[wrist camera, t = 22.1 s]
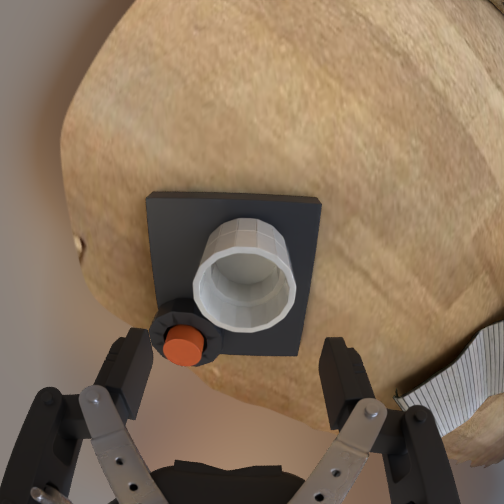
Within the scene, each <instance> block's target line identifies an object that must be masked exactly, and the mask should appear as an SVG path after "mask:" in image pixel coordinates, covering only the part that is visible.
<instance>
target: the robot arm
mask: <svg viewBox="0 0 504 504" xmlns="http://www.w3.org/2000/svg"><path fill="white" fill-rule="evenodd" d="M152 364H153V351H152V346H151V342H150V337H149V332H148V330H147V329H142V328H133V327H132V328H130V330H129V332H128V334H127V336H126V338H124V337H120V338H119V339H118V340H116V341H115V342H114V343H113V344H112V346H111V348H110V351H109V354H108V355H107V357H106V360H105V361H104V363H103V365H102V367H101V370H100V372H99V374H98V376H97V378H96V380H95V383H94V384H93V385H92V386H88V387H87V388H85V389H84V390H82V392H81V393H80V394H75V395H62V394H61V392H60V391H59V390H58V389H57V388H54V387H46V388H43V389H42V390H40V391H39V392H38V393H37V395H36V396H35V399H34V401H33V403H32V405H31V407H30V410H29V412H28V414H27V417H26V419H25V421H24V424H23V426H22V428H21V431H20V433H19V436H18V438H17V440H16V443H15V446H14V448H13V451H12V454H11V457H10V459H9V462H8V465H7V468H6V471H5V474H4V477H3V480H2V483H1V487H0V504H73V503H72V502H71V501H70V500H69V499H68V495H69V491H70V487H71V482H72V478H73V474H74V470H75V466H76V463H77V459H78V455H79V452H80V448H81V445H82V441H83V439H91V438H92V440H91V444H92V446H93V449H94V451H95V454H96V456H97V458H98V461H99V463H100V465H101V468H102V469H103V472H104V474H105V476H106V478H107V480H108V482H109V485H110V487H111V489H112V491H113V493H114V494H115V496H116V498H115V499H114V500H113V501H111V502H110V503H108V504H341V503H342V501H343V500H344V498H345V496H346V495H347V493H348V492H349V490H350V488H351V487H352V485H353V484H354V482H355V480H356V479H357V477H358V475H359V473H360V472H361V470H362V468H363V466H364V464H365V463H366V461H367V459H368V457H369V452H374V453H382V456H383V461H384V466H385V471H386V477H387V482H388V488H389V493H390V499H391V504H461V503H460V499H459V496H458V492H457V488H456V484H455V481H454V477H453V474H452V470H451V467H450V464H449V460H448V457H447V454H446V451H445V448H444V445H443V442H442V439H441V436H440V433H439V430H438V427H437V424H436V422H435V419H434V416H433V414H432V412H431V411H430V410H429V409H428V408H427V407H425V406H423V405H413V406H411V407H409V408H408V409H407V411H398V410H391V409H387V408H386V407H385V405H384V404H383V403H382V402H381V401H379V400H377V399H376V398H375V396H374V393H373V390H372V387H371V384H370V381H369V378H368V376H367V373H366V370H365V367H364V366H363V362H362V359H361V357H360V355H359V354H358V353H357V351H356V350H355V349H354V348H347V347H346V344H345V341H344V339H343V337H326V339H325V341H324V345H323V349H322V352H321V356H320V360H319V375H320V380H321V384H322V389H323V394H324V399H325V403H326V408H327V413H328V418H329V423H330V428H331V430H336V429H339V434H338V436H337V437H336V439H335V440H334V441H333V443H332V444H331V446H330V447H329V449H328V450H327V452H326V453H325V455H324V456H323V458H322V459H321V460H320V462H319V463H318V465H317V466H316V467H315V469H314V470H313V472H312V473H311V474H310V476H309V477H308V478H307V480H306V481H305V480H304V479H302V478H300V477H298V476H296V475H294V474H291V473H287V472H283V471H282V467H281V465H278V466H252V467H246V468H241V469H235V470H228V471H227V470H223V469H219V468H216V467H212V466H209V465H206V464H203V463H198V462H189V461H181V460H175V462H174V466H168V467H163V468H160V469H157V470H155V471H153V472H151V471H150V470H149V468H148V466H147V465H146V463H145V462H144V460H143V458H142V456H141V455H140V453H139V451H138V449H137V447H136V446H135V444H134V442H133V440H132V438H131V436H130V434H129V432H128V430H127V428H126V426H125V425H126V422H127V419H132V420H136V416H137V413H138V409H139V406H140V403H141V399H142V396H143V393H144V389H145V386H146V383H147V380H148V377H149V374H150V371H151V368H152Z"/></svg>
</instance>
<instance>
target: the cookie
mask: <svg viewBox="0 0 504 504" xmlns="http://www.w3.org/2000/svg"><path fill="white" fill-rule="evenodd" d="M490 1H491V2H492V3H493V4H494V5H495V6H496V7H497V8H498V9H499V10H500V11H501V12H502V13H503V14H504V0H490Z"/></svg>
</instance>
